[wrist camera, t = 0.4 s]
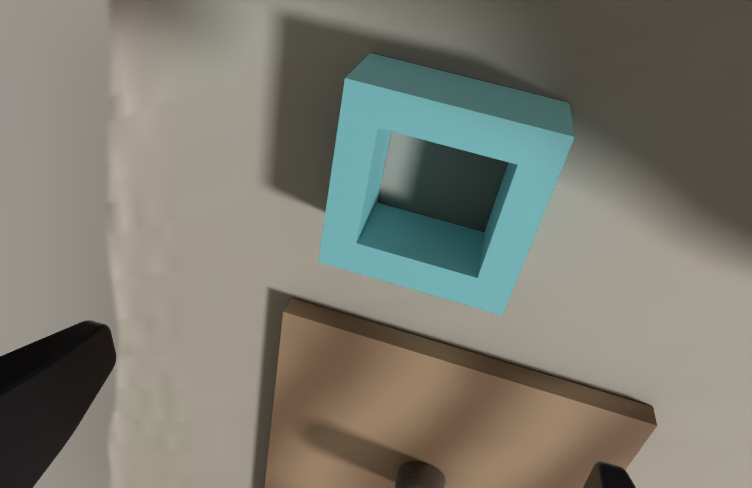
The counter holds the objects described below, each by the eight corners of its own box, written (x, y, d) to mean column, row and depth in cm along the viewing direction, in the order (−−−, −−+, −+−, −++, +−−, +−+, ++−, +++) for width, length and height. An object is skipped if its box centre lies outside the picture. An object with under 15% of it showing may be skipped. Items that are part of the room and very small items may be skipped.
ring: (569, 102, 18) (574, 137, 15) (506, 266, 21) (502, 315, 19) (370, 53, 18) (345, 77, 16) (342, 219, 22) (318, 261, 20)
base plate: (652, 406, 23) (657, 425, 22) (527, 585, 32) (527, 603, 31) (291, 297, 25) (283, 311, 24) (268, 497, 34) (261, 512, 33)
